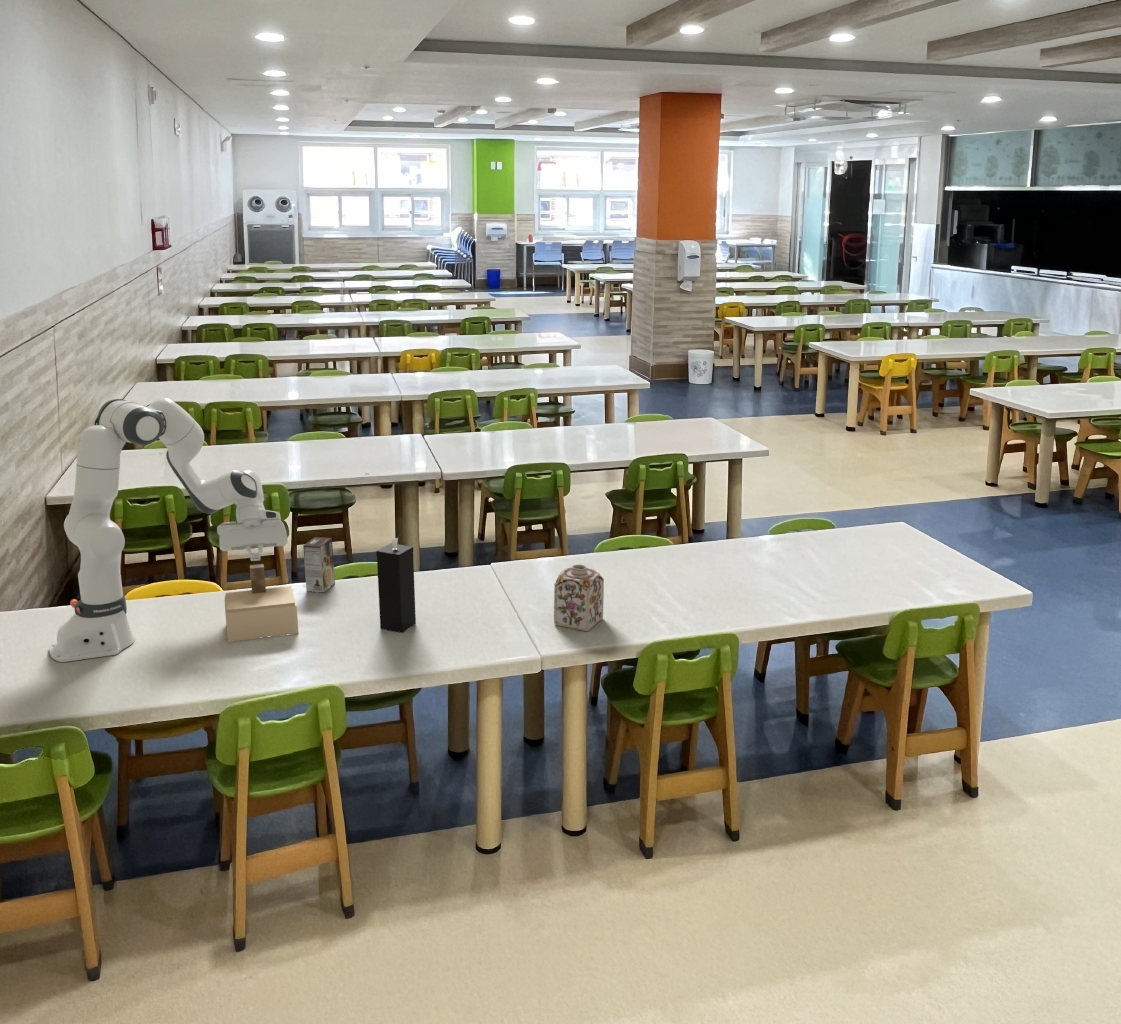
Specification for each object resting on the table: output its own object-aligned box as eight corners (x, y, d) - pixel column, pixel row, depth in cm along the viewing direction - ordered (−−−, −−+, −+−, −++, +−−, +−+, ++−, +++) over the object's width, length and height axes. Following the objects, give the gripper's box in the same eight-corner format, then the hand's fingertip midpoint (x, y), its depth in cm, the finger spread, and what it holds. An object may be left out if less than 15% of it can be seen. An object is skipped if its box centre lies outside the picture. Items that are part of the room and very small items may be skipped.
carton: (228, 641, 313) (225, 613, 310) (226, 623, 325) (224, 595, 323) (298, 633, 318) (296, 605, 316) (294, 616, 331) (292, 588, 329)
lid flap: (226, 612, 310) (224, 583, 307) (225, 595, 323) (223, 567, 320) (295, 605, 316) (293, 577, 313) (291, 588, 328) (289, 561, 326)
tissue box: (416, 624, 326) (413, 536, 318) (402, 633, 319) (398, 544, 311) (394, 619, 329) (390, 532, 321) (379, 628, 322) (375, 540, 314)
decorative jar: (552, 625, 325) (553, 569, 320) (569, 612, 335) (569, 557, 330) (589, 632, 321) (589, 575, 315) (604, 618, 331) (605, 563, 325)
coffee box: (317, 581, 359) (314, 536, 354) (335, 583, 358) (332, 537, 353) (305, 591, 351) (302, 545, 346) (324, 593, 349) (321, 546, 345)
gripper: (215, 518, 329) (219, 558, 323) (284, 512, 335) (289, 552, 329) (217, 527, 335) (220, 567, 329) (284, 521, 341) (289, 561, 335)
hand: (255, 559), depth 329 cm, fingers closed
